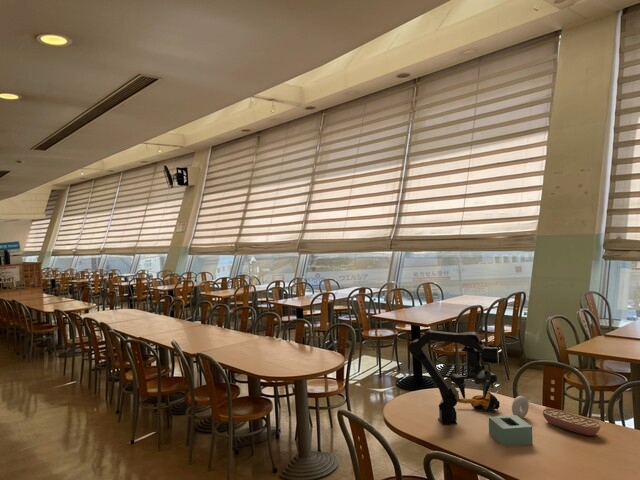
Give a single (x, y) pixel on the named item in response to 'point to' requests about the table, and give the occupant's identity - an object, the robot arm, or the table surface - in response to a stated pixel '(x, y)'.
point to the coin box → (510, 430)
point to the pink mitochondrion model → (571, 422)
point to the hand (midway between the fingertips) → (474, 397)
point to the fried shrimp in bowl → (483, 402)
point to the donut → (519, 410)
